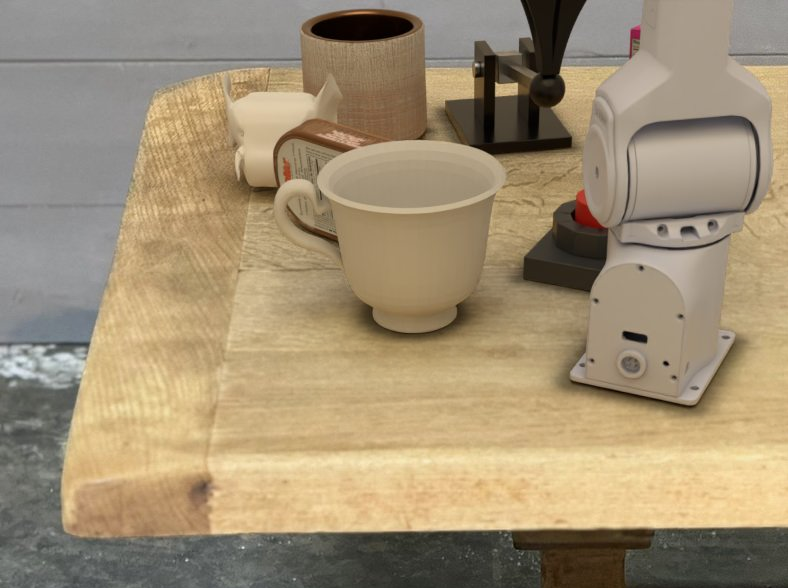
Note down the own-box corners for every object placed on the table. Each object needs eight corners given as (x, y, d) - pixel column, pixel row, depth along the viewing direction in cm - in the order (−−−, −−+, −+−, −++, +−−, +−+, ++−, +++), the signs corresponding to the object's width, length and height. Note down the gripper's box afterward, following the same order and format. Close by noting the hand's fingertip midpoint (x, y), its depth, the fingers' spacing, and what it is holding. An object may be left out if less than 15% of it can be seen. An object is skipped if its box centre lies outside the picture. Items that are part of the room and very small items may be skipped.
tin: (444, 261, 96) (443, 148, 91) (415, 276, 94) (413, 162, 90) (299, 211, 105) (291, 105, 100) (270, 223, 103) (261, 116, 98)
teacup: (284, 282, 94) (272, 145, 88) (492, 271, 95) (494, 134, 89) (282, 364, 84) (268, 217, 79) (514, 352, 85) (518, 204, 79)
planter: (301, 157, 114) (293, 44, 109) (310, 115, 123) (303, 9, 118) (426, 155, 114) (425, 41, 108) (427, 112, 123) (425, 6, 117)
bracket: (571, 147, 114) (576, 62, 110) (469, 156, 113) (469, 70, 109) (539, 103, 124) (542, 23, 120) (444, 110, 123) (444, 30, 119)
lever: (569, 109, 102) (569, 71, 101) (534, 111, 102) (533, 73, 101) (519, 80, 118) (519, 47, 116) (488, 82, 117) (487, 49, 116)
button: (621, 235, 92) (622, 211, 91) (566, 226, 93) (567, 202, 92) (639, 214, 94) (641, 190, 93) (586, 205, 96) (587, 182, 95)
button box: (631, 299, 90) (635, 251, 88) (522, 279, 93) (524, 232, 91) (674, 243, 98) (679, 198, 96) (572, 226, 101) (574, 182, 99)
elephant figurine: (208, 210, 105) (195, 99, 100) (244, 156, 115) (234, 52, 110) (326, 213, 104) (319, 101, 99) (352, 158, 114) (347, 54, 109)
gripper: (637, -137, 98) (624, 49, 106) (444, -126, 96) (445, 62, 104) (667, -120, 92) (651, 76, 100) (462, -107, 91) (462, 90, 99)
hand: (547, 71), depth 102 cm, fingers closed, pressing on lever
